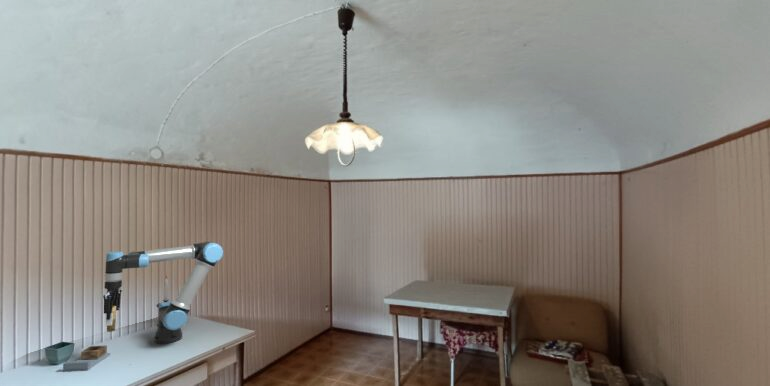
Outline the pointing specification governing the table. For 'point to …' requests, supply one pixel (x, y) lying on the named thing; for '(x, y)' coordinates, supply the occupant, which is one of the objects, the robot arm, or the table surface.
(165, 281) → the candlestick
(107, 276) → the robot arm
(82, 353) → the block
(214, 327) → the table surface
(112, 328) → the dowel
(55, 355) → the flower pot
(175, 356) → the table surface
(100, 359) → the board
